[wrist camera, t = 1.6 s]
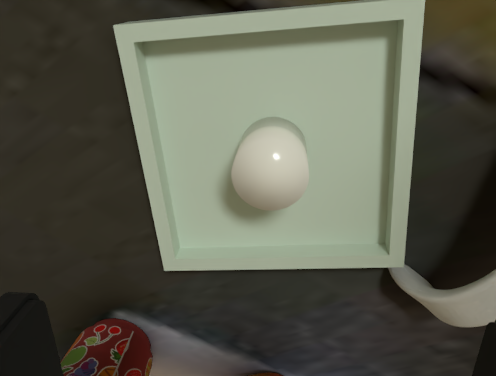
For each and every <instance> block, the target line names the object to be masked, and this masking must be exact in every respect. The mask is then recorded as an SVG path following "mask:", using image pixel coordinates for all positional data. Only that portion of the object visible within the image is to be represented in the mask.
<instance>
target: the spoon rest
mask: <svg viewBox="0 0 496 376" xmlns="http://www.w3.org/2000/svg"><path fill="white" fill-rule="evenodd" d="M388 270H389V272H390V274H391V276H392V278H393V279H394V280H395V282H396V283H397V284H398V286H399V287H400V288H401V289H402V290H404V291H405V292H406V293H407V294H409V295H410V296H412V297H413V298H414V299H416V300H417V301H419V302H420V303H421V304H422V305H424V306H425V307H426V308H427V309H428V310H429V311H430V312H431V313H432V314H434V315H435V316H436V317H437V318H438V319H440V320H441V321H443V322H445V323H447V324H450V325H453V326H457V327H478V326H484V325H487V324H488V323H489V322H495V320H496V269H495V270H494V271H492V272H491V273H489V274H488V275H486V276H485V277H483V278H481V279H479V280H477V281H475V282H473V283H470V284H468V285H466V286H463V287H459V288H456V289H450V290H440V289H434V288H433V287H432V285H431V284H430V283H429V282H427V281H426V280H425V279H424V278H423V277H422V276H420V275H419V274H418V273H417V272H415V271H414V270H413V269H411V268H410V267H408V266H407V265H405V264H404V267H391V268H388Z"/></svg>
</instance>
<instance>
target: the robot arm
mask: <svg viewBox="0 0 496 376" xmlns="http://www.w3.org/2000/svg"><path fill="white" fill-rule="evenodd" d="M0 376H64V375H63V371H62V367H61V363H60V359H59V355H58V351H57V347H56V344H55V340H54V336H53V332H52V328H51V324H50V320H49V316H48V312H47V308H46V305H45V303H44V302H43V301H41V300H39V298H38V296H37V295H36V294H33V293H17V292H8V293H5V294H4V295H2V296H1V297H0ZM472 376H496V320H495V322H489V323H488V324H487V327H486V330H485V333H484V337H483V340H482V343H481V347H480V350H479V354H478V357H477V361H476V364H475V367H474V371H473V374H472Z"/></svg>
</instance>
